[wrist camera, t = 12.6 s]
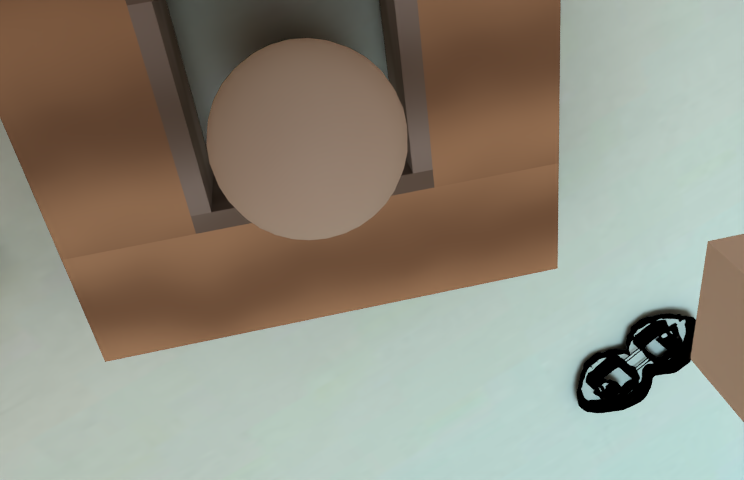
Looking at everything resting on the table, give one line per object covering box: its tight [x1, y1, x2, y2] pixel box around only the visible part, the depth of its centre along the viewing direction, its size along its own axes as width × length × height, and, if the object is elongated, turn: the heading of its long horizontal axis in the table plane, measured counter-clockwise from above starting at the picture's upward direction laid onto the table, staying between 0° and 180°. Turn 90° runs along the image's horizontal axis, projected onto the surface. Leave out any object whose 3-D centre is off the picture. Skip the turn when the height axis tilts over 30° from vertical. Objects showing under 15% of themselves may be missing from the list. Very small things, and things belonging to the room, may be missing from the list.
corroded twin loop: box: [577, 313, 696, 413], centre depth 40 cm, size 5×8×1 cm, turn 136°
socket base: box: [0, 0, 560, 362], centre depth 27 cm, size 20×20×4 cm
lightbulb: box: [206, 38, 407, 240], centre depth 24 cm, size 6×6×11 cm
